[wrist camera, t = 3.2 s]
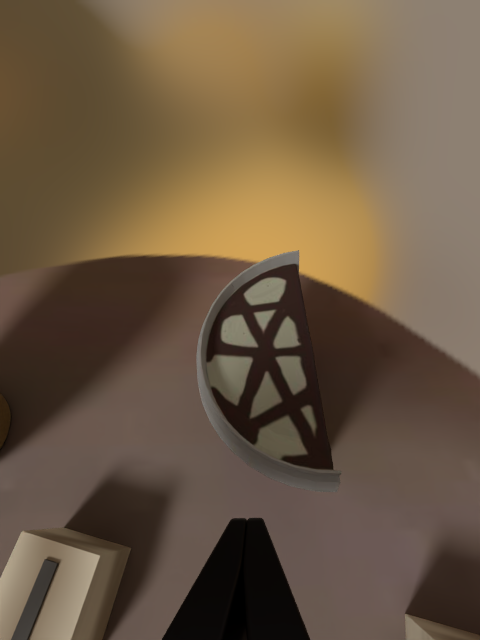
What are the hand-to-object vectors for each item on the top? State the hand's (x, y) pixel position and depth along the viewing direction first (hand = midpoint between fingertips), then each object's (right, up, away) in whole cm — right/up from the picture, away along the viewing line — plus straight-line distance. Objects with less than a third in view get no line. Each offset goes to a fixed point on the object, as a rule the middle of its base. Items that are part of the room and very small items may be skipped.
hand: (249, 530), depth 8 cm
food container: (+2, -1, +15) cm, 15 cm away
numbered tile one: (-10, -11, +11) cm, 18 cm away
